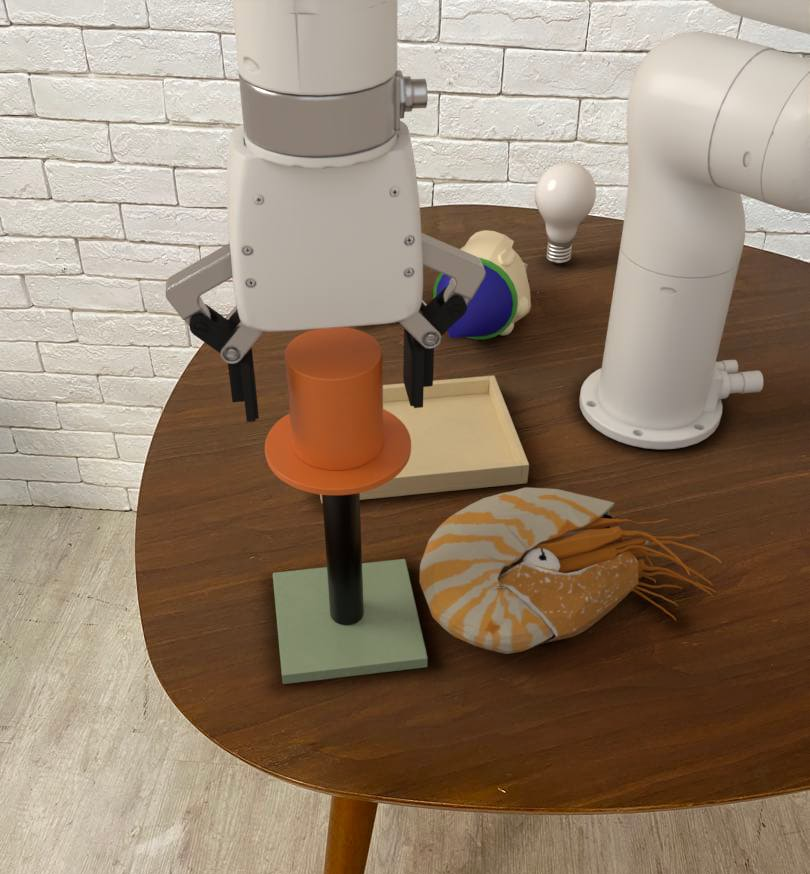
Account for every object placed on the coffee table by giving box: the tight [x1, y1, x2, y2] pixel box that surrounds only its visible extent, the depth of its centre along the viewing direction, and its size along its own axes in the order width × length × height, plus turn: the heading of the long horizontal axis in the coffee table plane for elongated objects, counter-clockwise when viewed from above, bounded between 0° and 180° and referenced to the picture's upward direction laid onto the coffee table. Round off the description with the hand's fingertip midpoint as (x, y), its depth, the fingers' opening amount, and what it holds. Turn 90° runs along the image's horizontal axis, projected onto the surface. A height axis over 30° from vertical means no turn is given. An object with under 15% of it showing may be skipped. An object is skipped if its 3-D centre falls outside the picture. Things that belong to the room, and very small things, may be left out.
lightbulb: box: [534, 161, 597, 265], centre depth 111 cm, size 6×6×11 cm
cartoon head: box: [432, 229, 532, 340], centre depth 103 cm, size 9×10×20 cm
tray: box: [319, 375, 530, 505], centre depth 90 cm, size 17×13×2 cm
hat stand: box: [272, 493, 429, 685], centre depth 70 cm, size 10×10×16 cm
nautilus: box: [419, 487, 723, 655], centre depth 74 cm, size 8×22×15 cm
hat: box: [264, 327, 411, 495], centre depth 63 cm, size 9×9×7 cm
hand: (333, 401), depth 62 cm, fingers open, 9 cm apart
